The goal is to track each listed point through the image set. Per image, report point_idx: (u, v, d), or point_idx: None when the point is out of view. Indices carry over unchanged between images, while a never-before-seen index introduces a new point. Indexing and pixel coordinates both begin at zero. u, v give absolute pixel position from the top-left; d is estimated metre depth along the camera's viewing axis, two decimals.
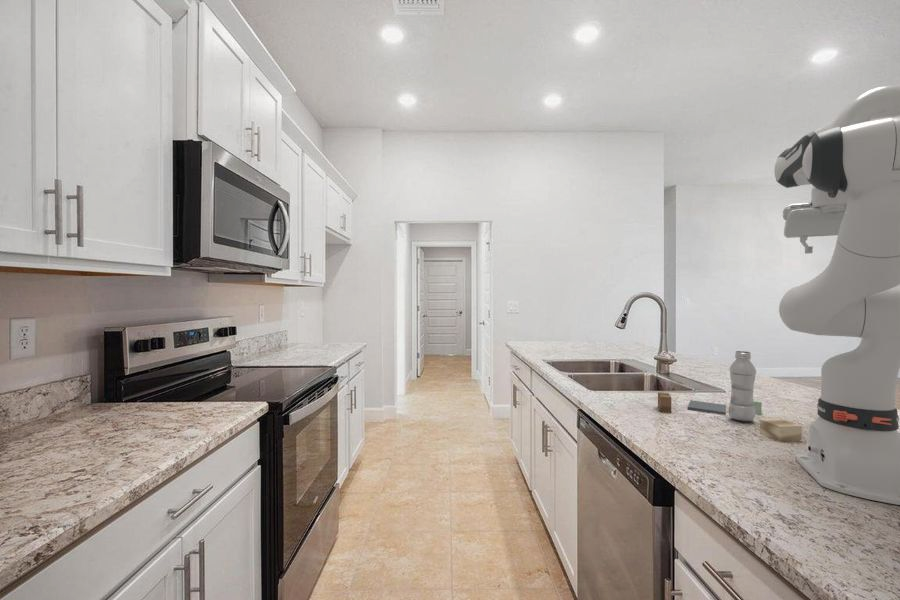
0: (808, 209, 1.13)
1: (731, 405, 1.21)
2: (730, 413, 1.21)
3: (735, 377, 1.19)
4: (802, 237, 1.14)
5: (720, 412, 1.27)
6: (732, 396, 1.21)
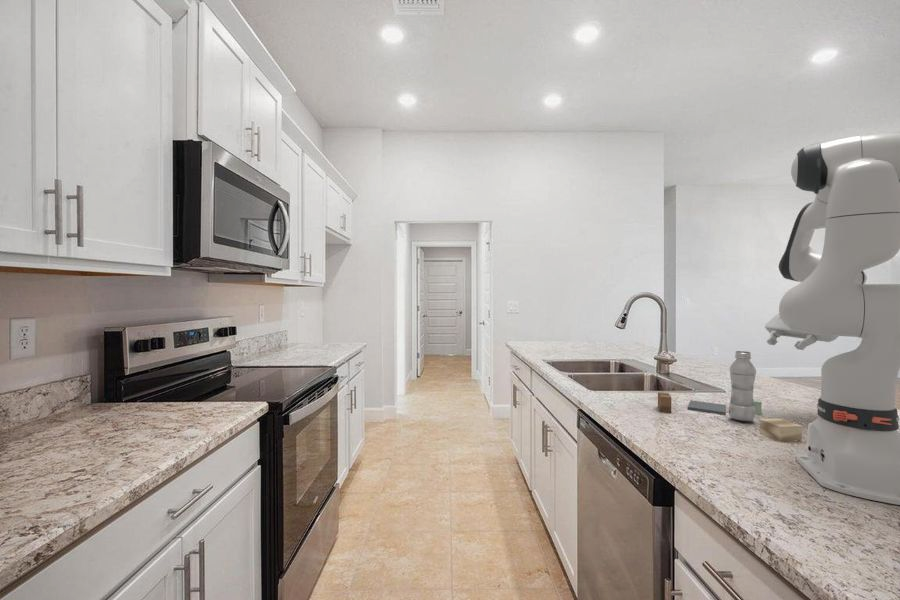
0: None
1: (731, 405, 1.21)
2: (730, 413, 1.21)
3: (735, 377, 1.19)
4: (773, 330, 1.28)
5: (720, 412, 1.27)
6: (732, 396, 1.21)
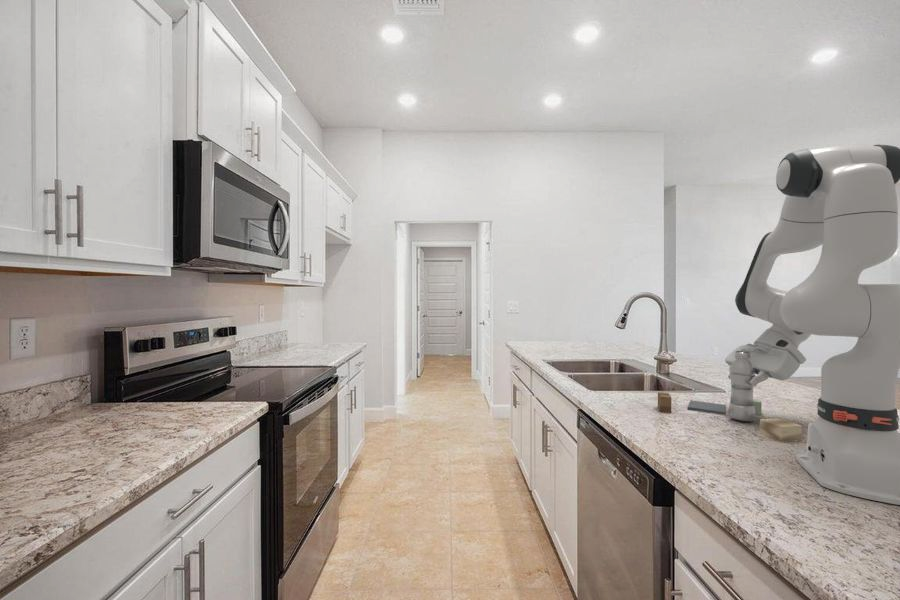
0: (750, 346, 1.26)
1: (731, 405, 1.21)
2: (730, 413, 1.21)
3: (735, 376, 1.20)
4: None
5: (720, 412, 1.27)
6: (732, 396, 1.21)
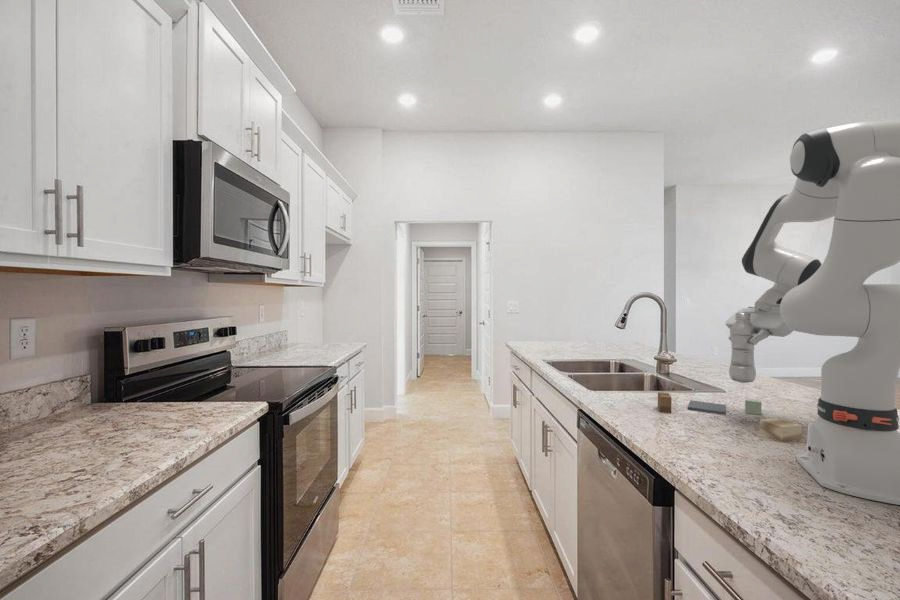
0: (750, 308, 1.26)
1: (731, 367, 1.21)
2: (730, 375, 1.21)
3: (735, 338, 1.19)
4: None
5: (720, 412, 1.27)
6: (732, 358, 1.21)
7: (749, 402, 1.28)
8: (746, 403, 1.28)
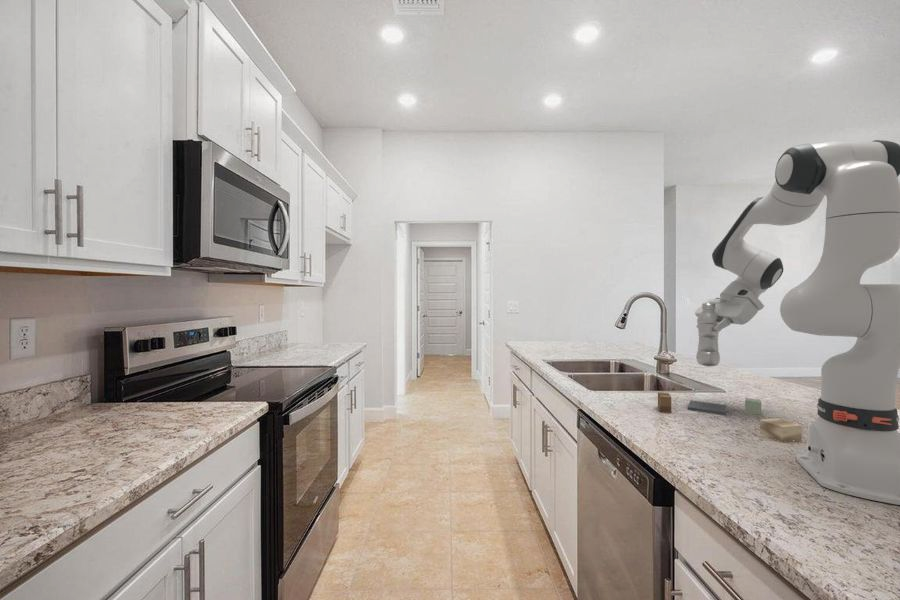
0: (717, 299, 1.38)
1: (698, 352, 1.33)
2: (697, 359, 1.34)
3: (701, 326, 1.32)
4: None
5: (720, 412, 1.27)
6: (699, 344, 1.33)
7: (749, 402, 1.28)
8: (746, 403, 1.28)
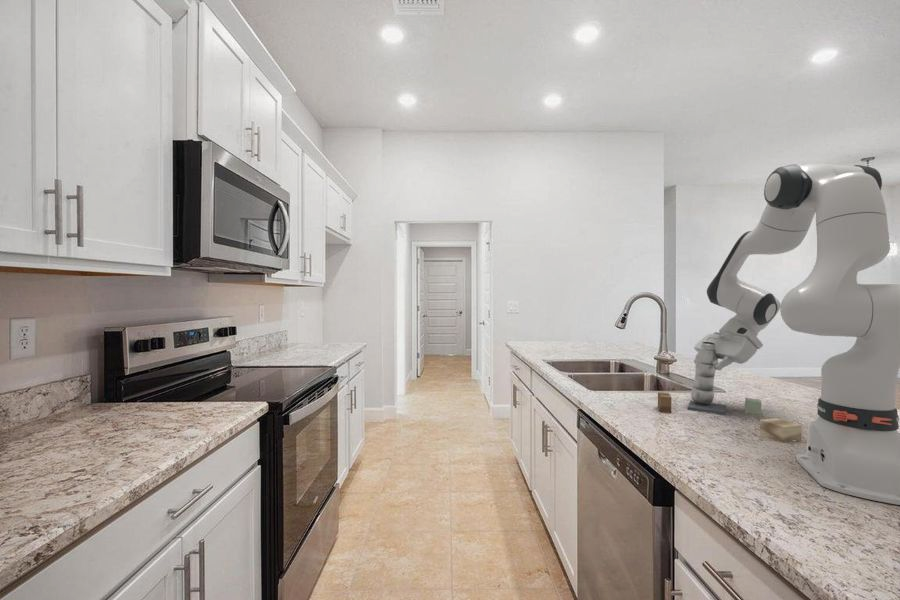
0: (716, 334, 1.39)
1: (693, 389, 1.36)
2: (692, 396, 1.36)
3: (699, 365, 1.33)
4: None
5: (720, 412, 1.27)
6: (695, 381, 1.35)
7: (749, 402, 1.28)
8: (746, 403, 1.28)
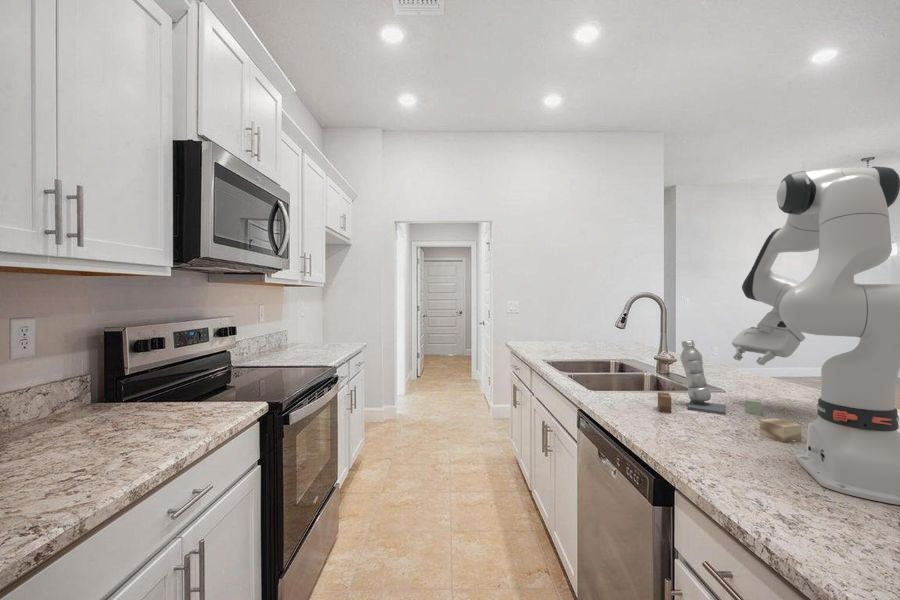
0: (753, 329, 1.39)
1: (689, 389, 1.37)
2: (690, 397, 1.37)
3: (685, 363, 1.37)
4: (738, 346, 1.40)
5: (720, 412, 1.27)
6: (688, 381, 1.37)
7: (749, 402, 1.28)
8: (746, 403, 1.28)
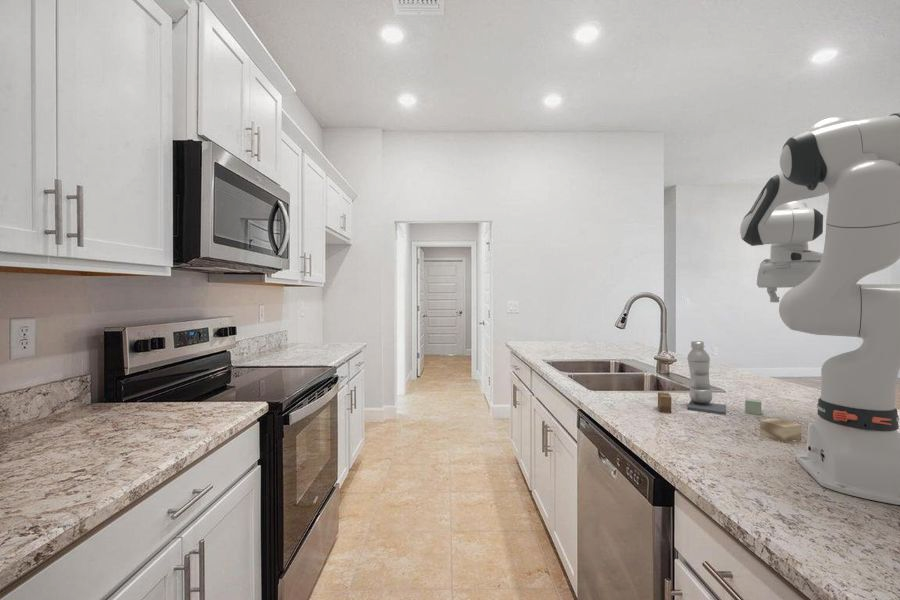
0: (769, 264, 1.30)
1: (691, 389, 1.36)
2: (690, 397, 1.37)
3: (691, 364, 1.35)
4: (767, 288, 1.32)
5: (720, 412, 1.27)
6: (691, 381, 1.37)
7: (749, 402, 1.28)
8: (746, 403, 1.28)
